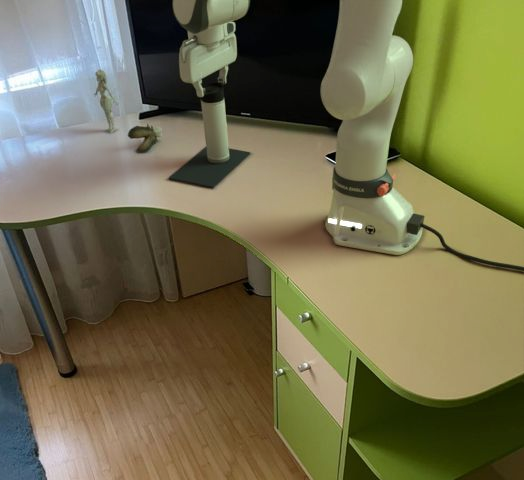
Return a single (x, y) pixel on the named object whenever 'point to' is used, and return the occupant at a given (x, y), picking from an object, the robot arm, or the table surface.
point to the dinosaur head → (145, 136)
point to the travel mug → (215, 123)
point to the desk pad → (208, 169)
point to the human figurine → (105, 98)
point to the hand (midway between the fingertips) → (212, 90)
